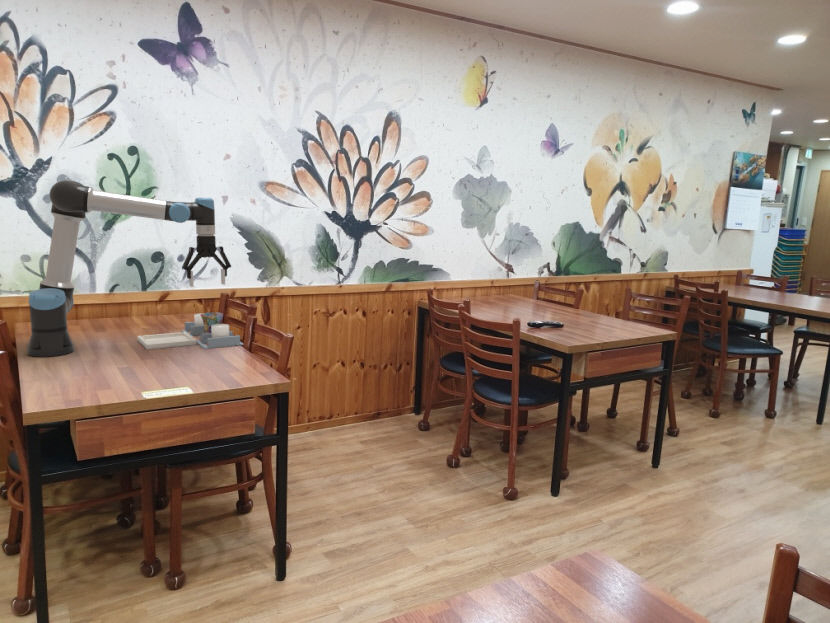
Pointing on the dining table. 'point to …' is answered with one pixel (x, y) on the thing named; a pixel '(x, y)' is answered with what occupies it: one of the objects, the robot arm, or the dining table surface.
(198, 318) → the white glossy dome
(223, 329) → the white rounded egg
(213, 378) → the dining table surface
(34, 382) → the dining table surface
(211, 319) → the mug
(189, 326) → the rack
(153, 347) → the tray
